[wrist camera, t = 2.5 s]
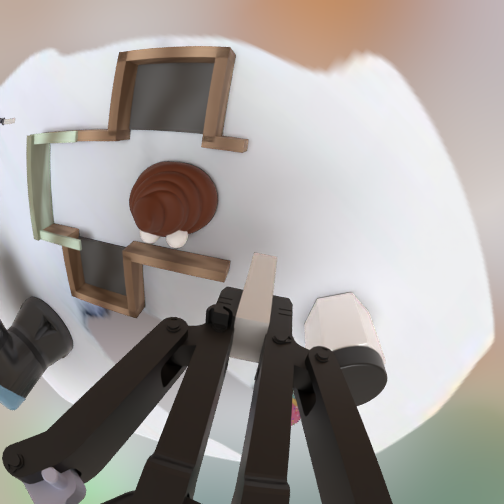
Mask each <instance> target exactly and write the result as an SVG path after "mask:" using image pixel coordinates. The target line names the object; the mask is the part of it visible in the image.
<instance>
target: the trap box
mask: <svg viewBox="0 0 504 504" xmlns="http://www.w3.org/2000/svg"><path fill="white" fill-rule="evenodd" d="M235 57H236V55H235V53H234V52H233V50H232V49H231V48H230V47H212V46H186V47H164V48H151V49H142V50H133V51H126V52H119V56H118V61H117V66H116V71H115V77H114V83H113V89H112V97H111V104H110V113H109V123H108V129H96V130H73V131H58V132H47V133H41V134H32V135H30V136H27V183H28V197H29V207H30V215H31V223H32V229H33V236H34V239H35V240H40V239H41V240H45V241H48V242H51V243H55V244H58V245H62V249H63V255H64V261H65V266H66V271H67V276H68V281H69V285H70V290H71V294H72V296H73V297H76V298H79V299H81V300H84V301H87V302H89V303H92V304H95V305H98V306H100V307H103V308H106V309H109V310H112V311H115V312H118V313H121V314H124V315H127V316H131V317H134V318H137V317H138V316H139V314H140V313H141V312H142V310H143V309H144V307H145V297H144V284H143V266H142V264H144V265H148V266H152V267H157V268H161V269H165V270H170V271H174V272H178V273H183V274H187V275H192V276H196V277H201V278H205V279H210V280H215V281H220V282H225V279H226V277H227V274H228V272H229V268H230V261H228V260H223V259H218V258H213V257H208V256H203V255H199V254H194V253H189V252H184V251H179V250H174V249H170V248H165V247H160V246H155V245H150V244H146V243H141V242H136V241H133V242H132V243H131V244H130V245H128V246H127V247H122V246H118V245H114V244H109V243H105V242H101V241H97V240H92V239H88V238H84V237H80V236H79V229H77V228H72V227H68V226H64V225H59V224H55V223H54V220H53V210H52V198H51V180H50V143H70V142H77V141H120V140H127V139H130V129H132V130H160V131H176V132H189V133H200V134H203V138H202V146H201V147H203V148H211V149H219V150H227V151H234V152H240V153H243V152H245V151H247V146H248V139H242V138H235V137H227V136H222V134H223V127H224V121H225V114H226V108H227V102H228V96H229V90H230V84H231V78H232V73H233V67H234V62H235Z"/></svg>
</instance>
